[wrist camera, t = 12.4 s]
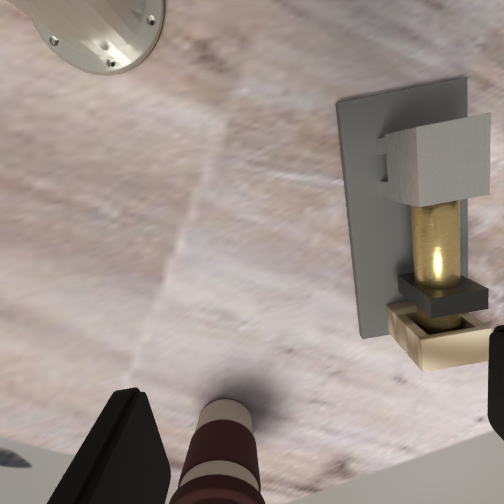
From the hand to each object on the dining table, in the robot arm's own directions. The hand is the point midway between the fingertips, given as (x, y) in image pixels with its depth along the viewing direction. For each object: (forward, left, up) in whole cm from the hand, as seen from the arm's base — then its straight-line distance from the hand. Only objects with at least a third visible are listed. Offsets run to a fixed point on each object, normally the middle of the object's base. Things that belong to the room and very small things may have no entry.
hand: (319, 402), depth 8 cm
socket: (+14, +16, -28) cm, 35 cm away
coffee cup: (+26, -10, -28) cm, 40 cm away
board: (+3, +16, -28) cm, 33 cm away
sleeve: (-4, +16, -28) cm, 33 cm away
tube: (+6, +16, -25) cm, 31 cm away
